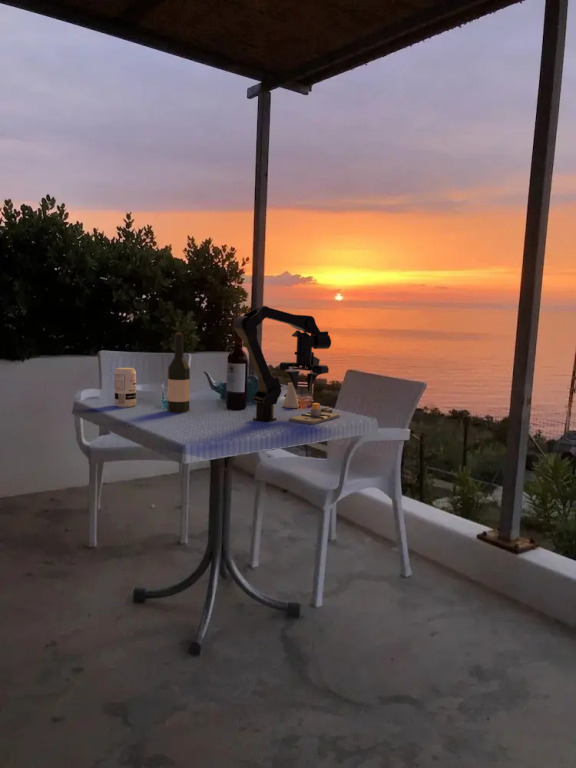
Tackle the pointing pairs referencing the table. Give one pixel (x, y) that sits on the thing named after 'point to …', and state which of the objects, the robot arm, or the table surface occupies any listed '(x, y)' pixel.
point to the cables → (326, 410)
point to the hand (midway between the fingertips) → (302, 390)
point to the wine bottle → (178, 379)
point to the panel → (314, 418)
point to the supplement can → (125, 387)
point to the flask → (291, 398)
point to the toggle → (316, 409)
